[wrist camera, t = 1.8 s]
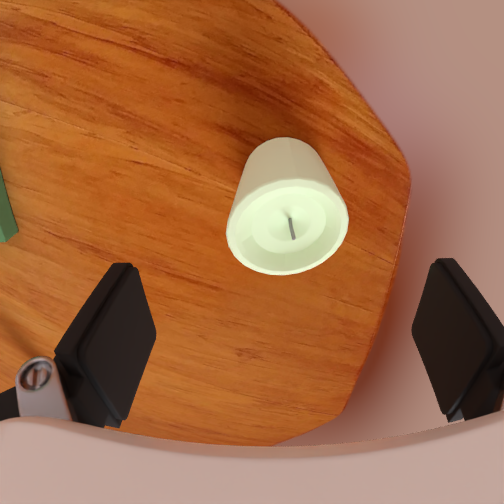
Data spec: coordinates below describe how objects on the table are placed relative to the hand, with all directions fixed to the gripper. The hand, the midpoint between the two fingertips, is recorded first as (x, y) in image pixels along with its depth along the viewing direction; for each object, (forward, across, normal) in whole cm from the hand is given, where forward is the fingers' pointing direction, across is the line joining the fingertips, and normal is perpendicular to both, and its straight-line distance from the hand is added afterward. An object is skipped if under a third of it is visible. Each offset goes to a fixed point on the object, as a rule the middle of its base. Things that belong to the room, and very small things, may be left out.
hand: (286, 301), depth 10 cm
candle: (+12, 0, 0) cm, 12 cm away
